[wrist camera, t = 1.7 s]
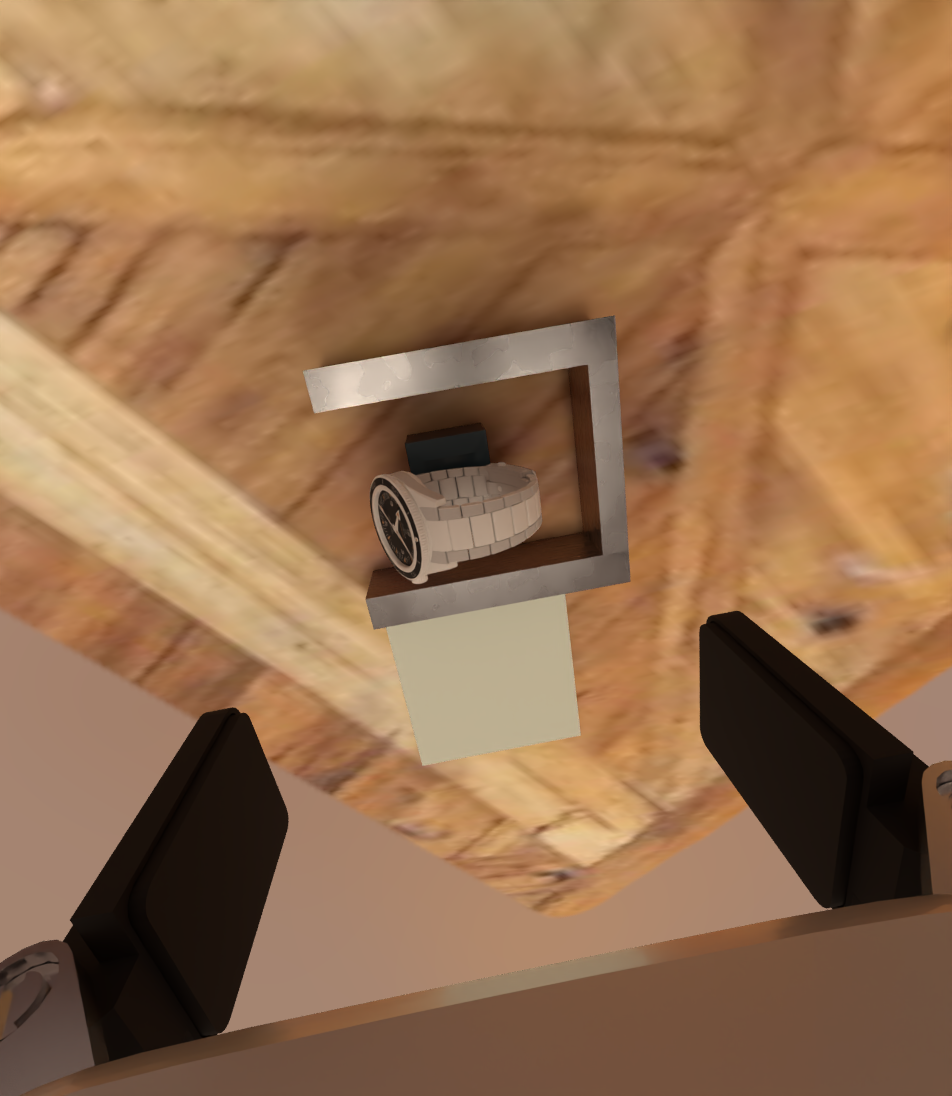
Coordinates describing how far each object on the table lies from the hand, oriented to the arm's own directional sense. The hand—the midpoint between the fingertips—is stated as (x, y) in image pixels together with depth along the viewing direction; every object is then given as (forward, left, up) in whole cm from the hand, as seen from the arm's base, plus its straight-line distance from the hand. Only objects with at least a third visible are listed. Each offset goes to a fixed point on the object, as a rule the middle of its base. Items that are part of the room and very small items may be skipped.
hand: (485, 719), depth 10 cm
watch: (0, 0, -22) cm, 22 cm away
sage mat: (+15, 0, -22) cm, 26 cm away
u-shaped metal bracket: (0, +2, -22) cm, 22 cm away
